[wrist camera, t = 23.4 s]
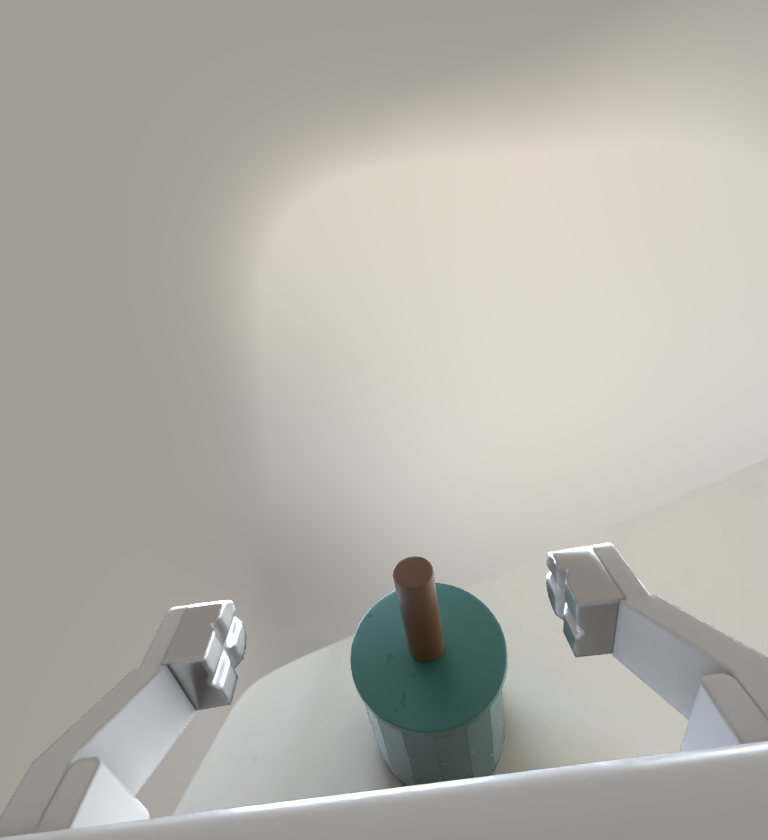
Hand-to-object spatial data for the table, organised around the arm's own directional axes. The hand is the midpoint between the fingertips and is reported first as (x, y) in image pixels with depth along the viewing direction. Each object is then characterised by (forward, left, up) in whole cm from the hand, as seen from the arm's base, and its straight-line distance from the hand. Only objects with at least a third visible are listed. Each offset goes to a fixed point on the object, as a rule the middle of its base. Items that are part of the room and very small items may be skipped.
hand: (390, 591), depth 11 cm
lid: (-3, +12, -20) cm, 24 cm away
